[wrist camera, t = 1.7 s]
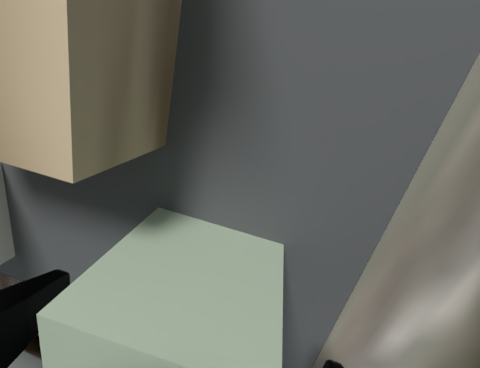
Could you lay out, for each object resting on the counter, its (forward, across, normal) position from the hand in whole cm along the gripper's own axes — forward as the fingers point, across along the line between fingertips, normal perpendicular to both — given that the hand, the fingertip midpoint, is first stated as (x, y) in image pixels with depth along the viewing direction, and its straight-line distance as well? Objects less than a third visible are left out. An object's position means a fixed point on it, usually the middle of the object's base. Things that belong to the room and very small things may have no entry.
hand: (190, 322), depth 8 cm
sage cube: (+2, 0, 0) cm, 2 cm away
